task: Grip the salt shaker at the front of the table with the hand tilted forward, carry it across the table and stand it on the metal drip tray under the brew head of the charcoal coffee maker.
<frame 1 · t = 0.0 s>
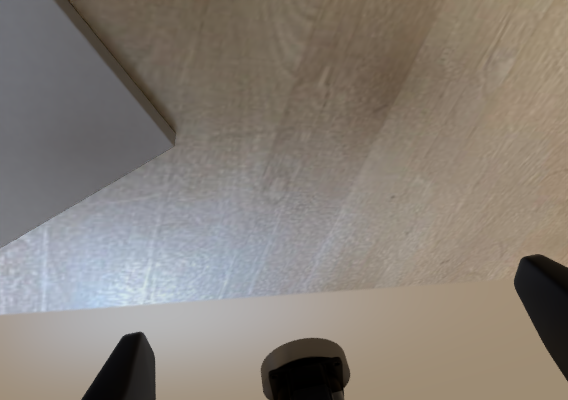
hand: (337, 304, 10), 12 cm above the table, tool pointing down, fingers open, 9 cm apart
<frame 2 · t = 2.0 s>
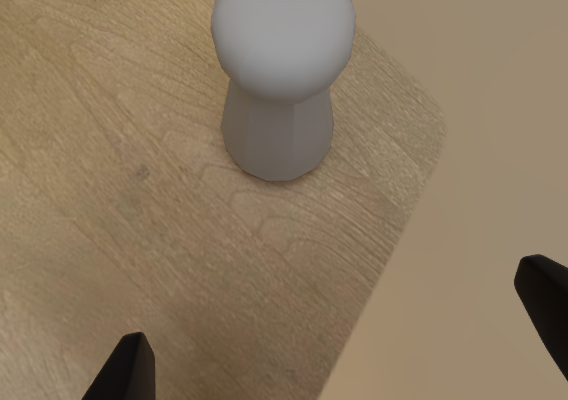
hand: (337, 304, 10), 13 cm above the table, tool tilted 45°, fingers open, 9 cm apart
salt shaker: (276, 140, 25), on the table
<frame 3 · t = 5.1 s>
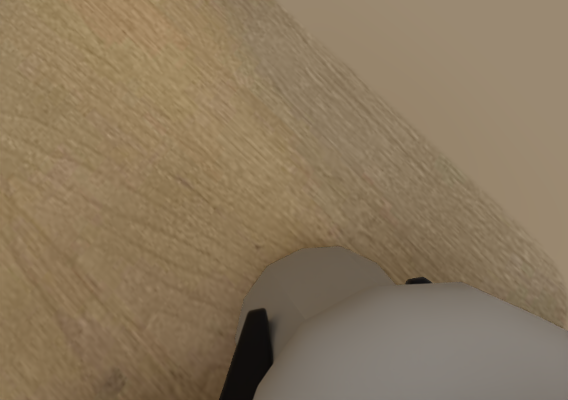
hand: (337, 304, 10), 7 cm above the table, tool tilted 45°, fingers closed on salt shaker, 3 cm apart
salt shaker: (316, 324, 16), on the table, touching gripper
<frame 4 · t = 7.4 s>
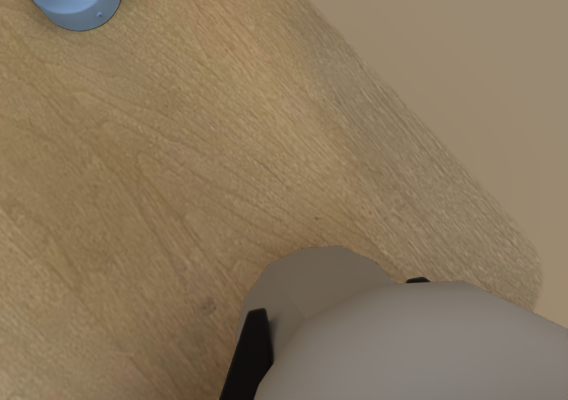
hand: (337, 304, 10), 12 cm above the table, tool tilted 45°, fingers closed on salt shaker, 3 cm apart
salt shaker: (317, 323, 16), point 6 cm above the table, touching gripper
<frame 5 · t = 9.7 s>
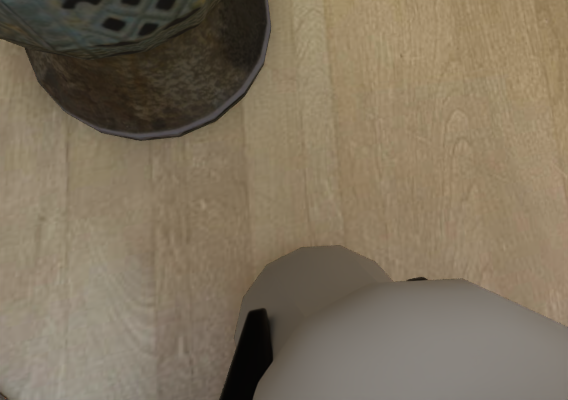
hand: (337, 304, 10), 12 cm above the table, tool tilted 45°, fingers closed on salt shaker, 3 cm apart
lantern: (150, 18, 24), on the table
salt shaker: (315, 323, 16), point 6 cm above the table, touching gripper
when the fingers open (8 cm above the table, at t = 14.2 s): salt shaker stays where it is, resting on coffee maker.
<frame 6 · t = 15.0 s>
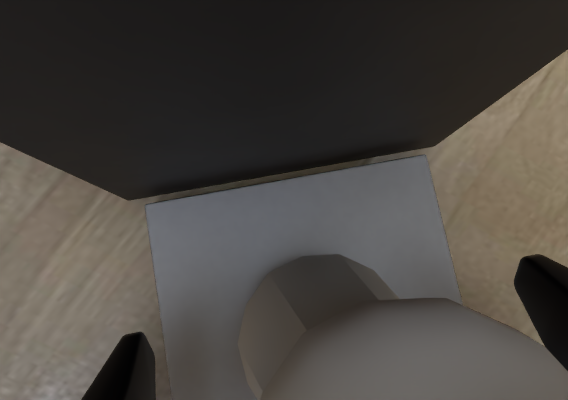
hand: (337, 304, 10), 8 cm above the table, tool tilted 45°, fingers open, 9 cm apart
salt shaker: (316, 328, 17), point 1 cm above the table, touching coffee maker
coffee maker: (313, 320, 18), on the table
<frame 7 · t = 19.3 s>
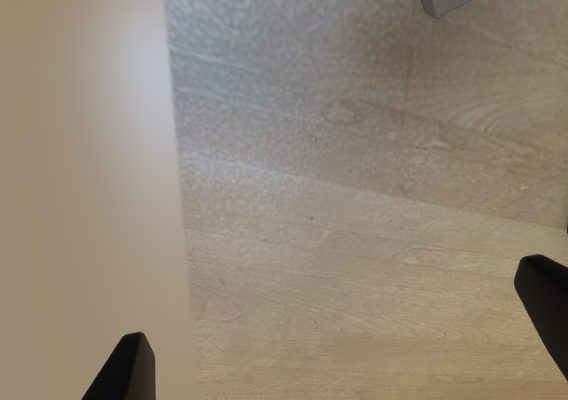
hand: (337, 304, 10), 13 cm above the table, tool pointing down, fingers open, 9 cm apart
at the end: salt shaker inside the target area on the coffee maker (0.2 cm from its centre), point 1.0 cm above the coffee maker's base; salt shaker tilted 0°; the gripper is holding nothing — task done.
